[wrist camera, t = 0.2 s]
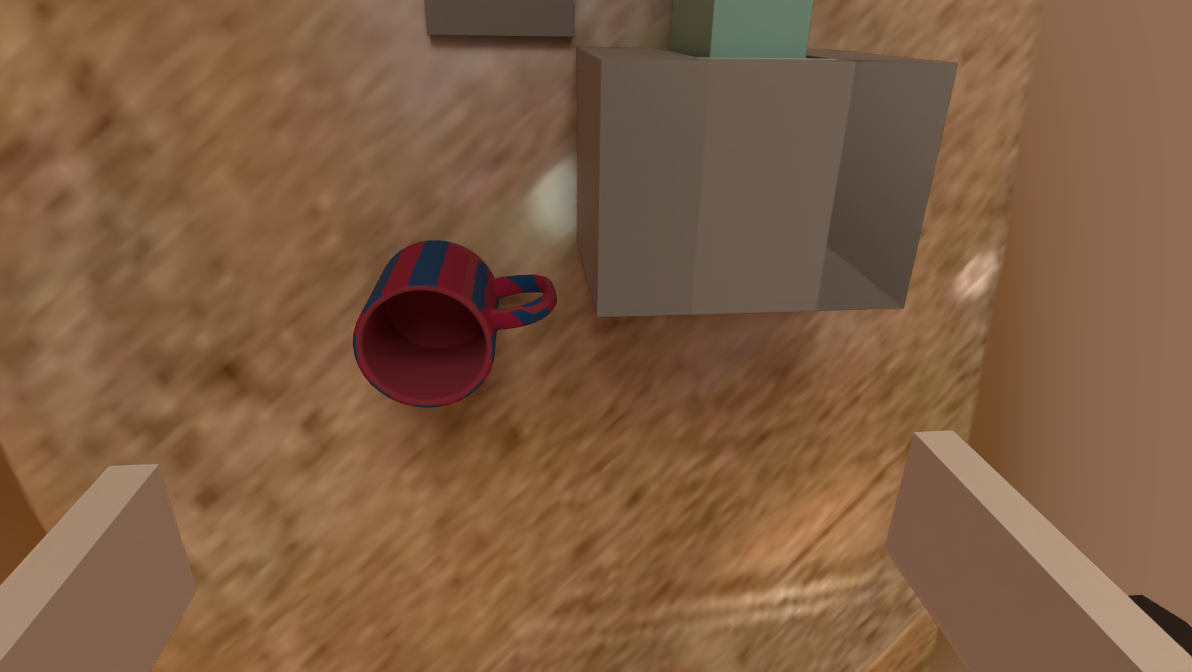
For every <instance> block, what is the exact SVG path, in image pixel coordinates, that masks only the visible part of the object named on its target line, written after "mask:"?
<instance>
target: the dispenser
mask: <svg viewBox="0 0 1192 672" xmlns="http://www.w3.org/2000/svg"><path fill="white" fill-rule="evenodd" d="M957 66H958V63H954V62H944V61H935V60H925V59H916V58H907V57H897V56H888V55H878V54H869V53H860V52H850V51H841V50H807V52H806V58H707V57H693V56H689V55H684V54H680V53H675V52H671V51H667V50H662V49H658V48H613V47H577V242H578V246H579V250H580V254H581V258H582V261H583V265H584V269H585V273H586V277H587V280H588V284H589V288H590V292H591V295H592V299H593V303H594V307H595V311H596V314H597V317H622V316H657V315H692V314H727V313H762V312H797V311H832V310H867V309H902V308H904V305H905V300H906V296H907V291H908V287H909V282H910V278H911V273H912V269H913V264H914V260H915V255H916V251H917V246H918V242H919V237H920V233H921V228H922V224H923V219H924V215H925V210H926V206H927V201H928V197H929V192H930V188H931V183H932V179H933V174H934V170H935V165H936V161H937V156H938V152H939V147H940V143H941V138H942V134H943V129H944V125H945V120H946V115H947V111H948V106H949V102H950V97H951V93H952V88H953V84H954V79H955V75H956V70H957Z"/></svg>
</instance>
